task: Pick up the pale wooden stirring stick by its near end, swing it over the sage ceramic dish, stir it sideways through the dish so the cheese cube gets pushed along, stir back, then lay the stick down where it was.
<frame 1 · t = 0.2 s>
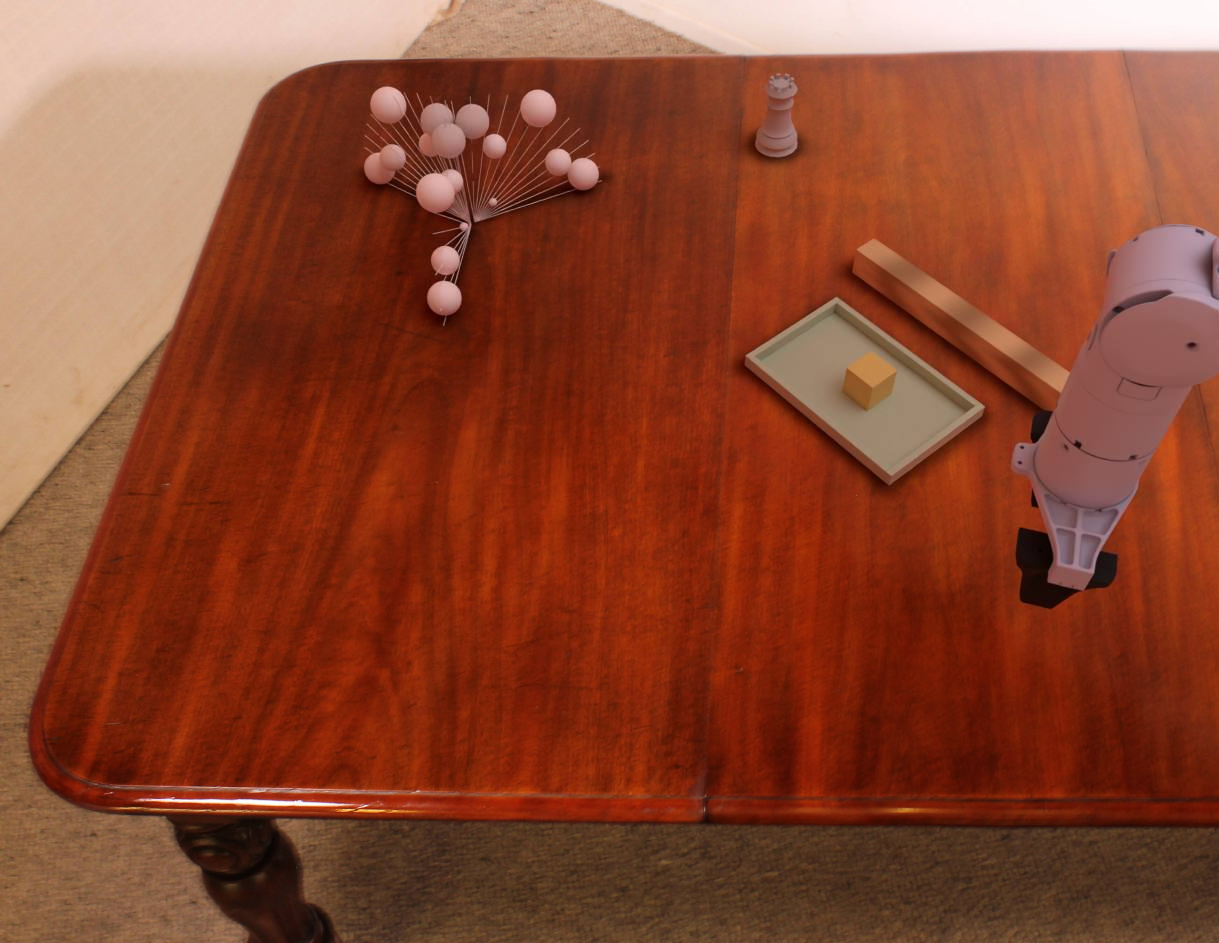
hand: (1042, 552, 71), 10 cm above the table, tool pointing down, fingers open, 7 cm apart
dish: (859, 392, 93), on the table
rook chess piece: (775, 149, 114), on the table
cheese cube: (866, 392, 93), resting on dish
decorative flower: (465, 246, 107), on the table
stick: (962, 341, 96), on the table
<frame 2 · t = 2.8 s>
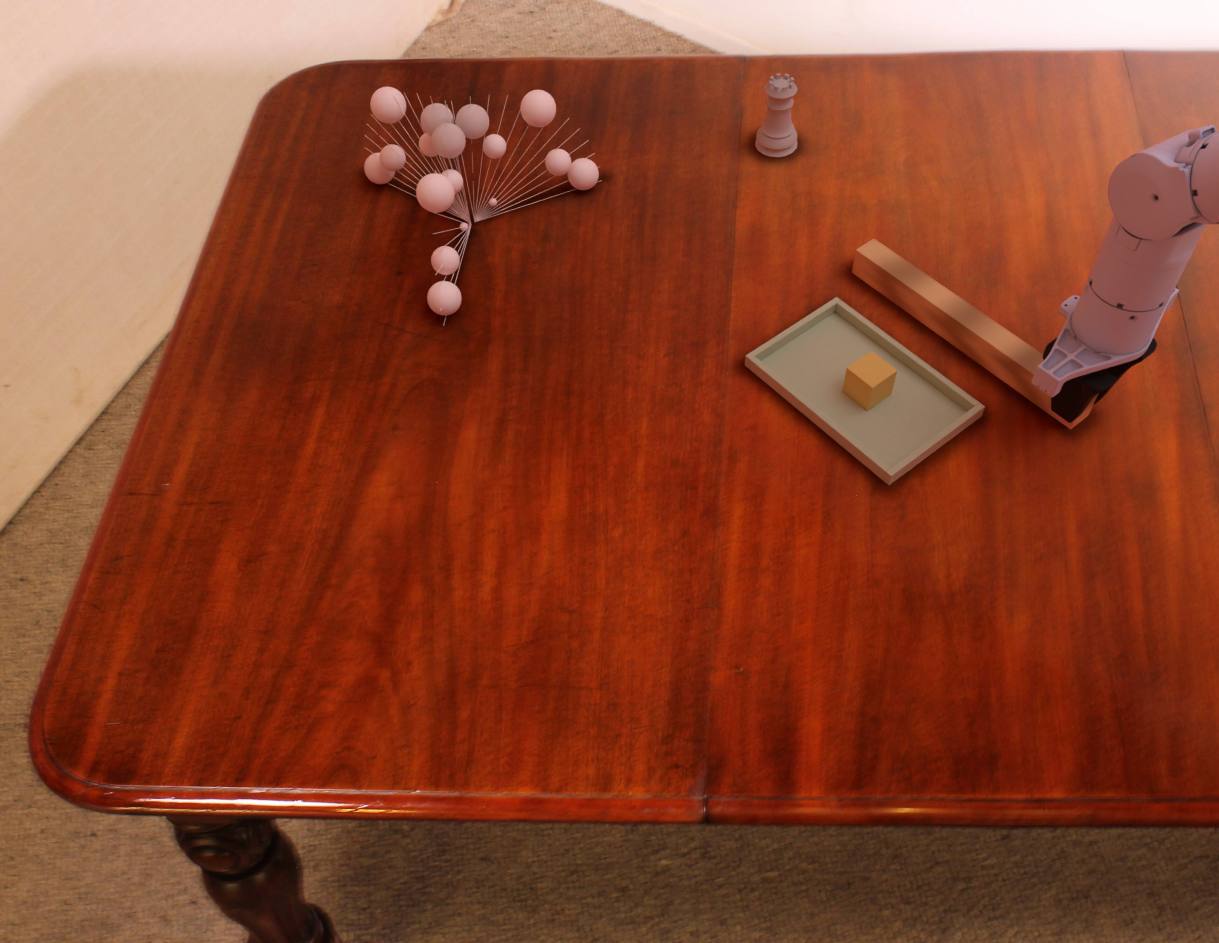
hand: (1074, 405, 89), 2 cm above the table, tool pointing down, fingers closed on stick, 2 cm apart
stick: (962, 342, 96), on the table, touching gripper
everything else where it was.
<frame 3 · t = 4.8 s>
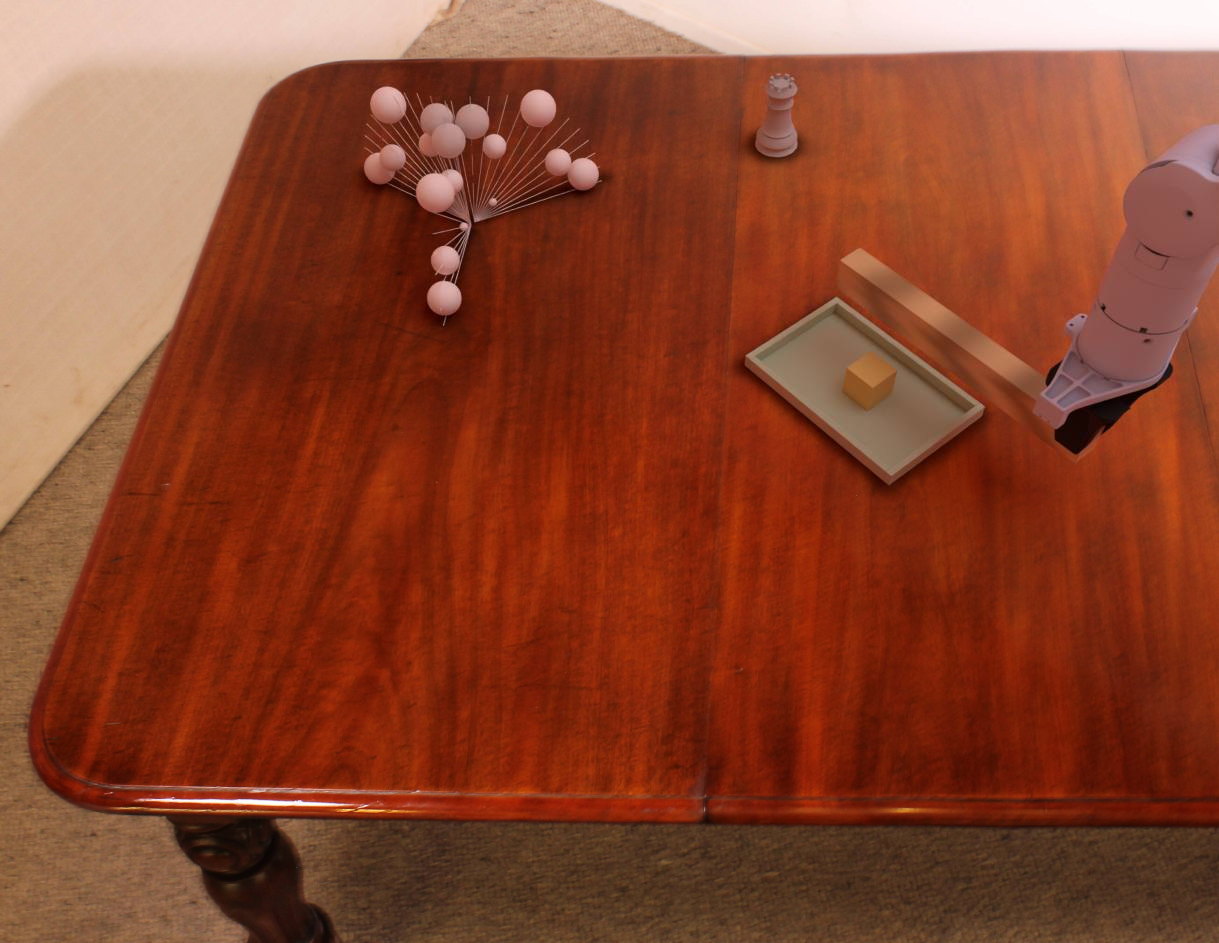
hand: (1080, 434, 80), 7 cm above the table, tool pointing down, fingers closed on stick, 2 cm apart
stick: (956, 362, 87), point 6 cm above the table, touching gripper
everything else where it was.
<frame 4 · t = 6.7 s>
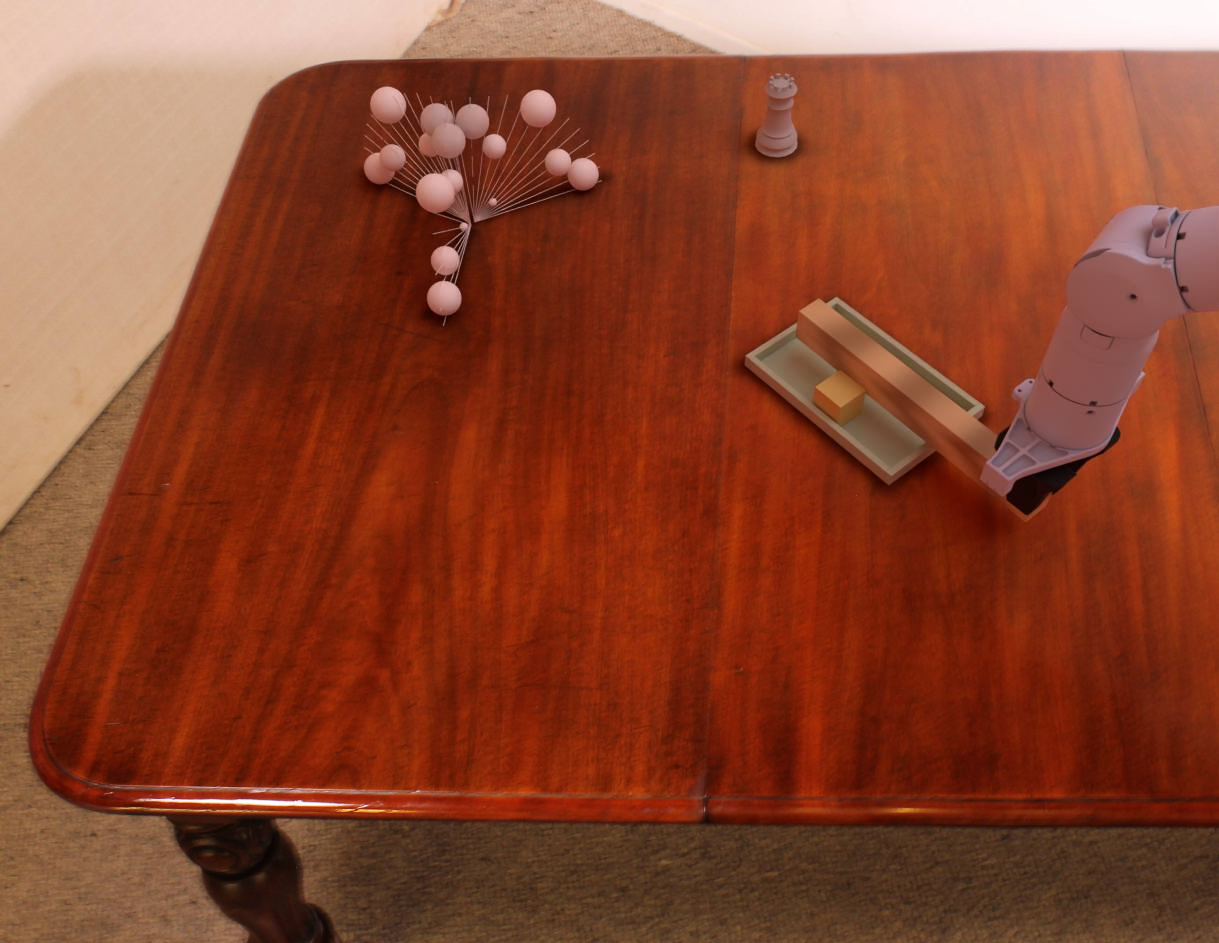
hand: (1032, 494, 81), 4 cm above the table, tool pointing down, fingers closed on stick, 2 cm apart
cheese cube: (836, 411, 91), resting on dish, touching stick
stick: (912, 416, 88), point 3 cm above the table, touching cheese cube, gripper
everything else where it was.
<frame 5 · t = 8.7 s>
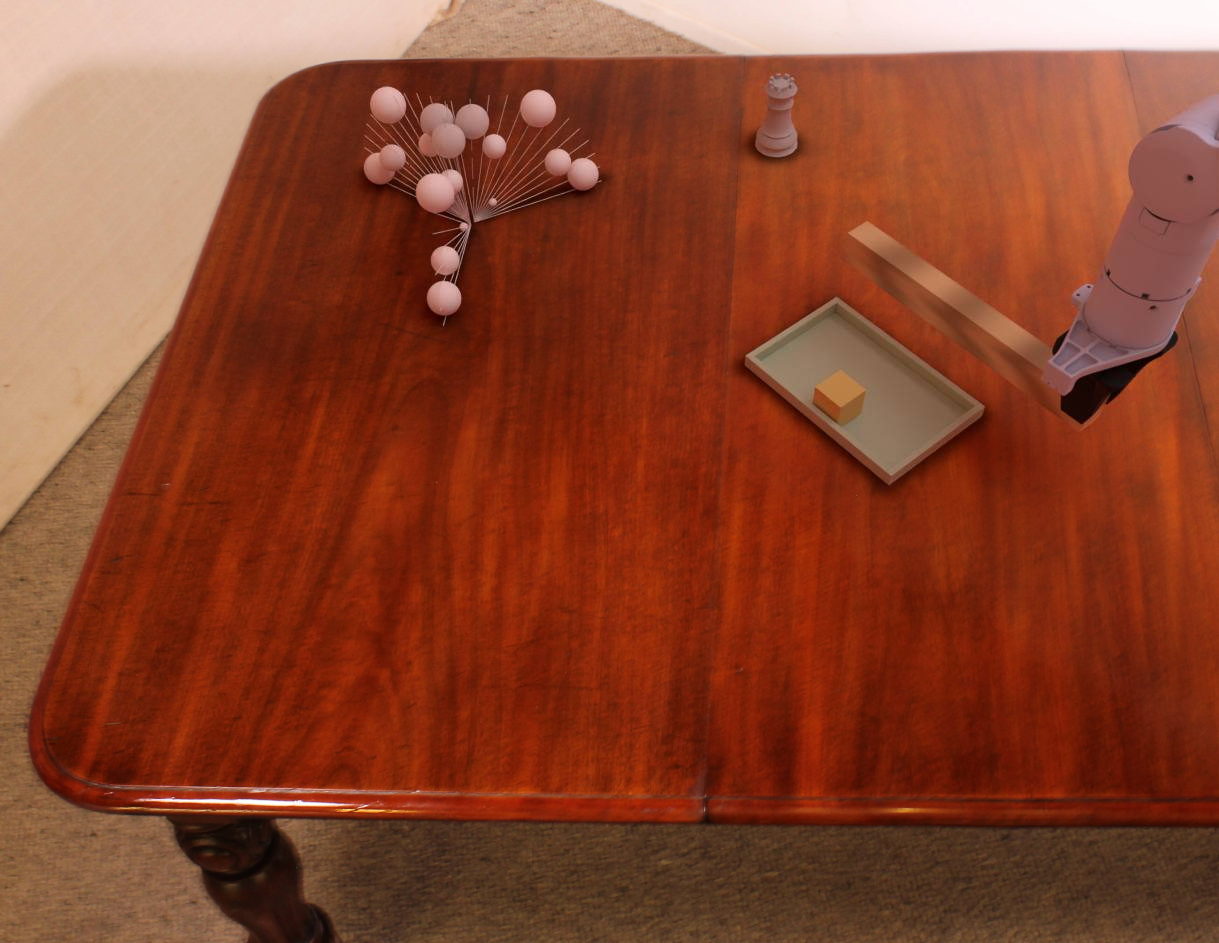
hand: (1086, 404, 82), 7 cm above the table, tool pointing down, fingers closed on stick, 2 cm apart
cheese cube: (836, 411, 91), resting on dish
stick: (962, 334, 88), point 6 cm above the table, touching gripper
everything else where it was.
when the fingers open (2 cm above the table, at t = 10.8 s): stick stays where it is, on the table.
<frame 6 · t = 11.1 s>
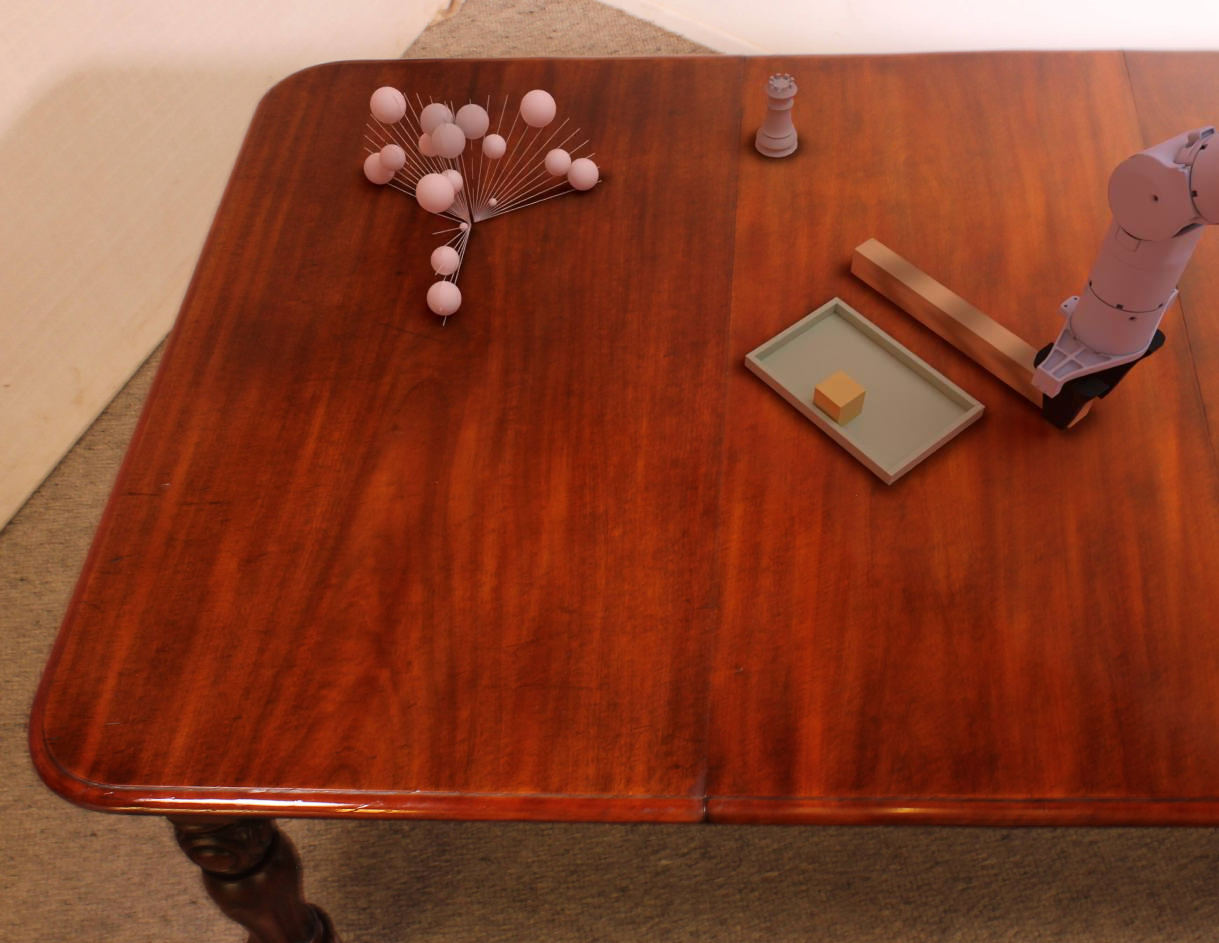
hand: (1074, 405, 89), 2 cm above the table, tool pointing down, fingers open, 4 cm apart
stick: (960, 341, 96), on the table
everything else where it was.
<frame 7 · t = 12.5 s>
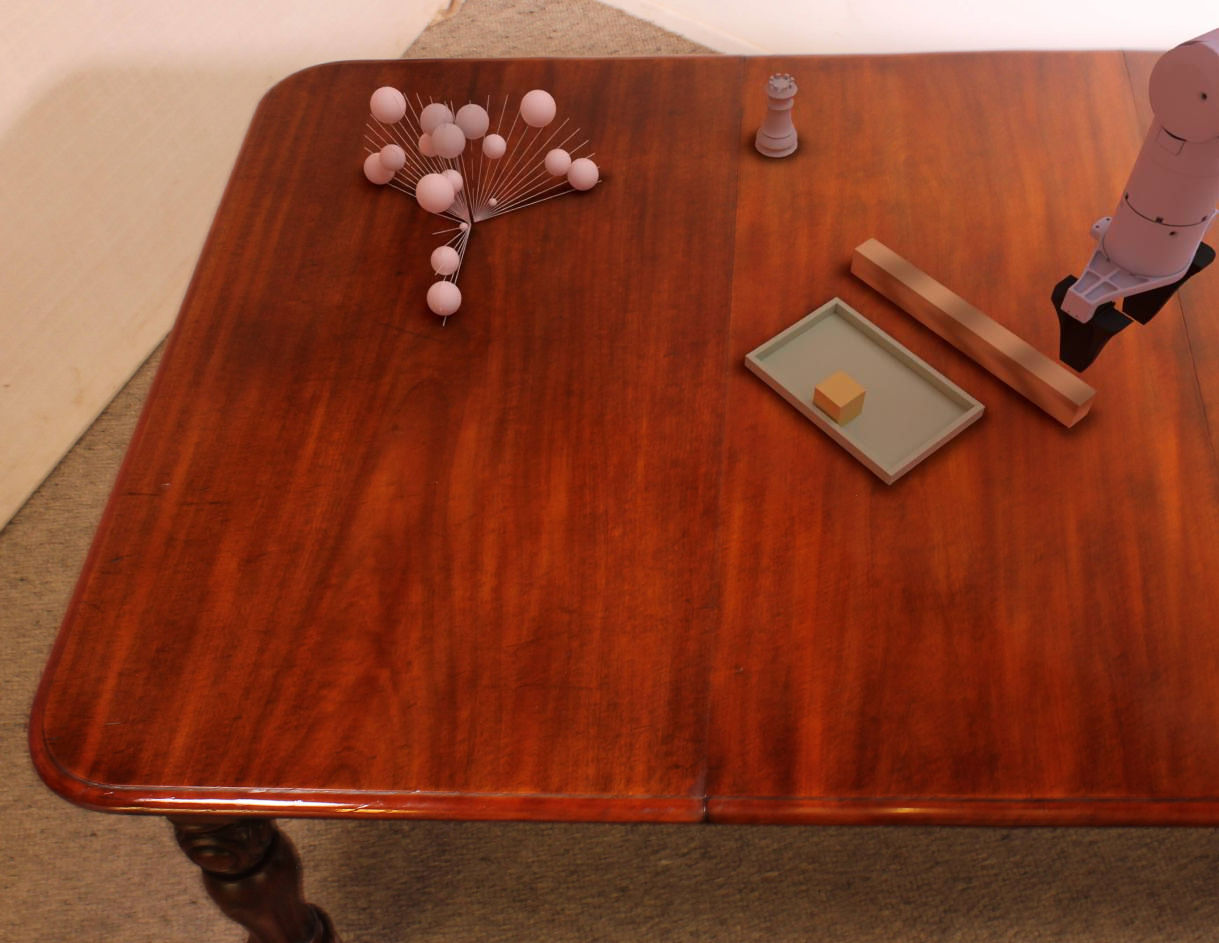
hand: (1104, 339, 83), 9 cm above the table, tool pointing down, fingers open, 7 cm apart
nothing on the table moved.
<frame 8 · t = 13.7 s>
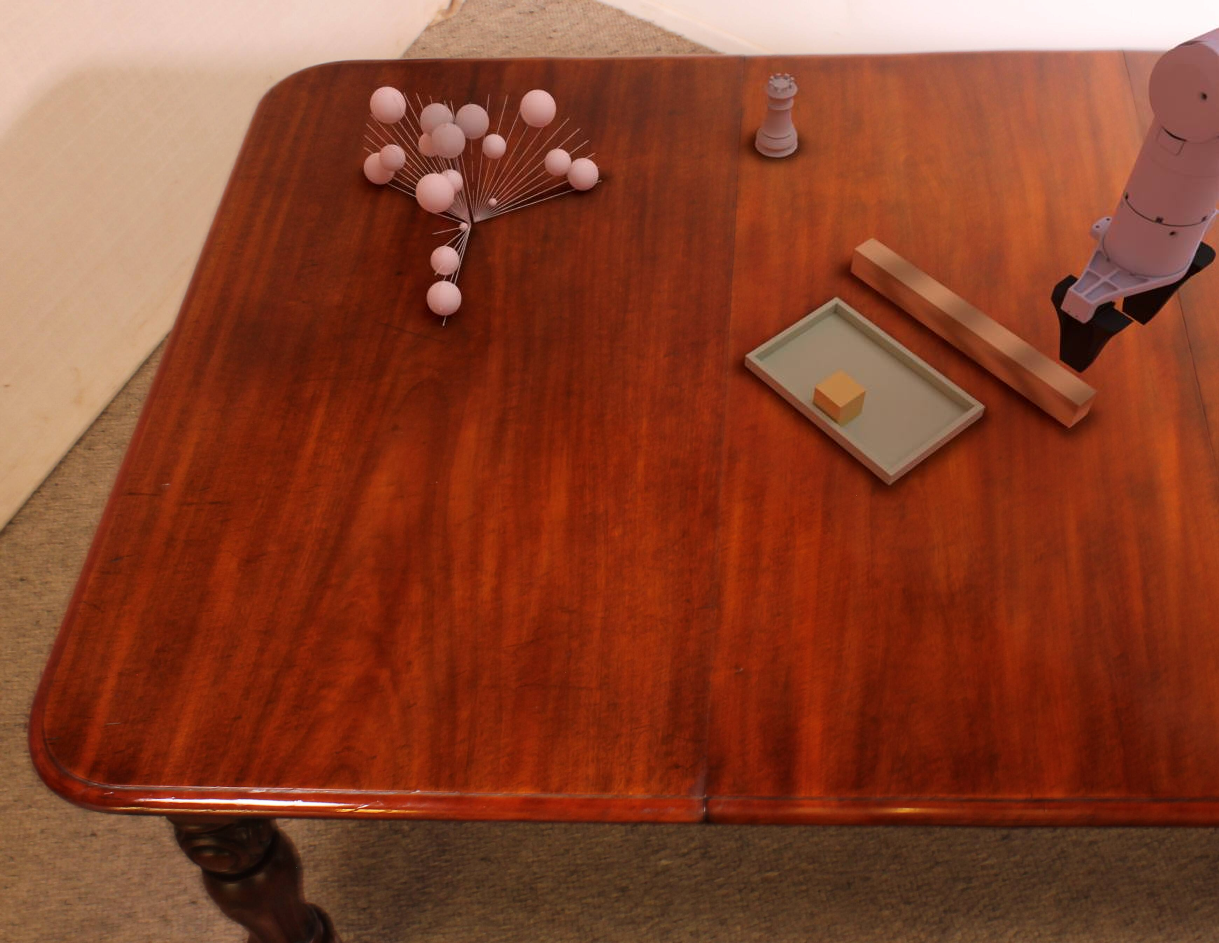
hand: (1104, 339, 83), 9 cm above the table, tool pointing down, fingers open, 7 cm apart
nothing on the table moved.
at the end: cheese cube moved 3.5 cm from its start; cheese cube inside the target area in the dish (3.4 cm from its centre), point 0.4 cm above the dish's base; rook chess piece moved 0.2 cm from its start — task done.
